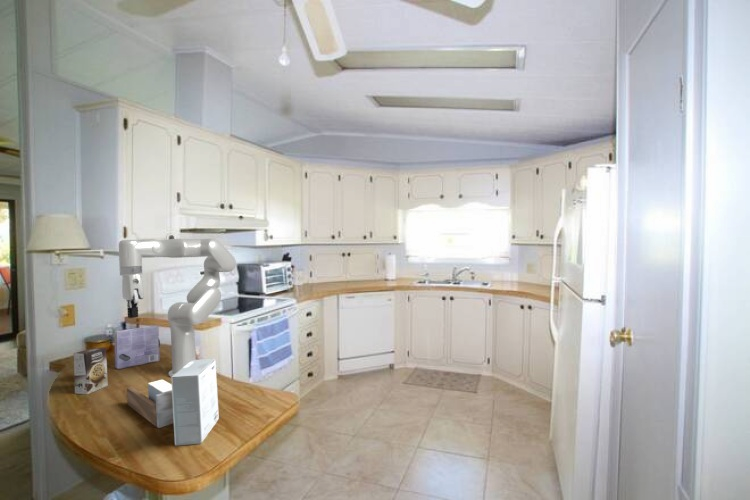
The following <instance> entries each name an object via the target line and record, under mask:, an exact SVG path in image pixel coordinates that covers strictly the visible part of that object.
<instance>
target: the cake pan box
mask: <svg viewBox="0 0 750 500" xmlns="http://www.w3.org/2000/svg"><path fill="white" fill-rule="evenodd" d="M159 329H160V327H159V325H152V326H145V327H135V328H131V329H121V330H115V331H114V368H116V370H121V369H125V368H130V367H137V366H141V365H142V366H143V365H145V364H149V363H154V362H155V363H156V362H160V346H161V340H160V337H159V335H160V333H159V332H160V330H159Z"/></svg>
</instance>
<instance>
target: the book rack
mask: <svg viewBox="0 0 750 500" xmlns="http://www.w3.org/2000/svg"><path fill="white" fill-rule="evenodd" d="M126 400H127V402H126V404H127V405H128V407H130V408H131V409H132V410H134V411H135V412H137V413H138V414H139V415H141V416H142V418H144V419H145V420H147V421H148V422H149V423H151V424H152V425H153V426H155V427H157V428H158V429H160V428H163V427H166V426H169V425H171V424H174V419H173V401H172V390H171V391H168V392H164V393H161V394H157V395H156V403H155V402H154V401H152V400H151V399H149V396H146V395H145V394H143V393H142V392H140V391H139V390H137V389H136V388H134V387H133V386H128V387H126Z"/></svg>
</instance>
